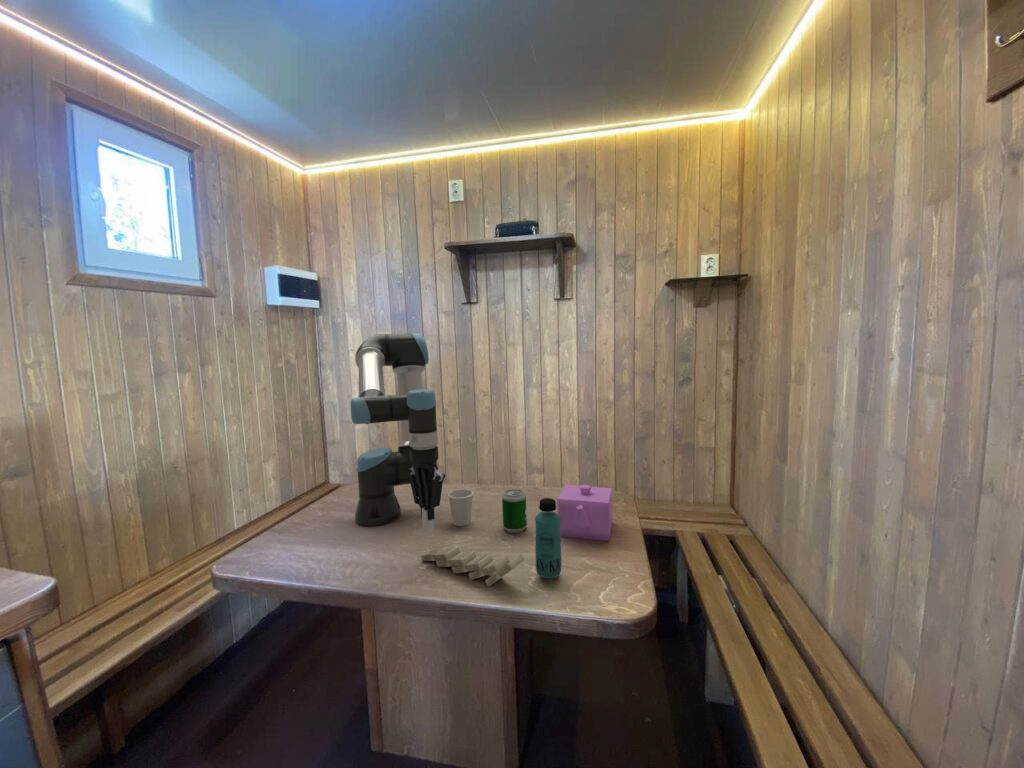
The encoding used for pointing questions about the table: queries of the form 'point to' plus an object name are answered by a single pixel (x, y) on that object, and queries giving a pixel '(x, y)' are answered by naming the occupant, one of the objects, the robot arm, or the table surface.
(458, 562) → the domino
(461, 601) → the table surface
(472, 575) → the domino
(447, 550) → the domino
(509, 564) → the domino
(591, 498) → the purple lidded box
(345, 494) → the table surface
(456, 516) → the dixie cup
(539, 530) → the beverage bottle
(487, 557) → the domino
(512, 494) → the soda can
